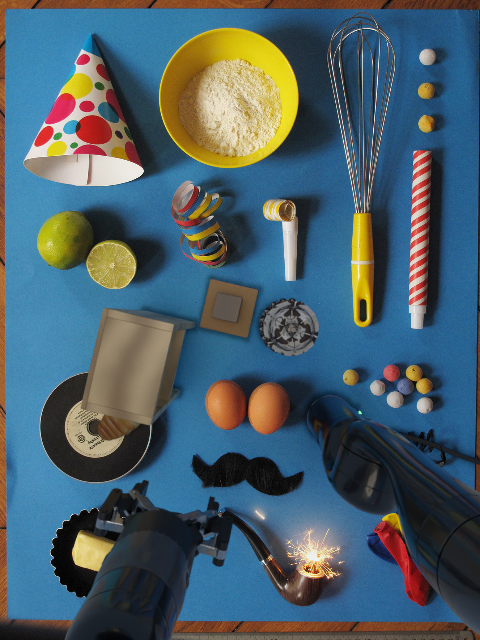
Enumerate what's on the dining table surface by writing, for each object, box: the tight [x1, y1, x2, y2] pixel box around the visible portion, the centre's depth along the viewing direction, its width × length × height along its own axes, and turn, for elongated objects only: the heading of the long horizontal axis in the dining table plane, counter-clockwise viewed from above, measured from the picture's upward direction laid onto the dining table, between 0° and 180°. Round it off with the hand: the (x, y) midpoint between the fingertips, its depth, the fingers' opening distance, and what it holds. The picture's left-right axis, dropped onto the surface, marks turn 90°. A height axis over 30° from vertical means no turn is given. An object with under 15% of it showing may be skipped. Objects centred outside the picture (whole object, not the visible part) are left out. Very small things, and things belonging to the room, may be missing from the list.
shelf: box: [79, 307, 196, 427], centre depth 74 cm, size 11×15×24 cm
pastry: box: [97, 414, 143, 442], centre depth 84 cm, size 9×7×4 cm
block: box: [211, 292, 243, 323], centre depth 82 cm, size 5×5×5 cm
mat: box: [199, 278, 259, 339], centre depth 85 cm, size 10×10×1 cm
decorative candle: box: [258, 297, 320, 357], centre depth 73 cm, size 9×9×25 cm
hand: (178, 495), depth 53 cm, fingers open, 8 cm apart
